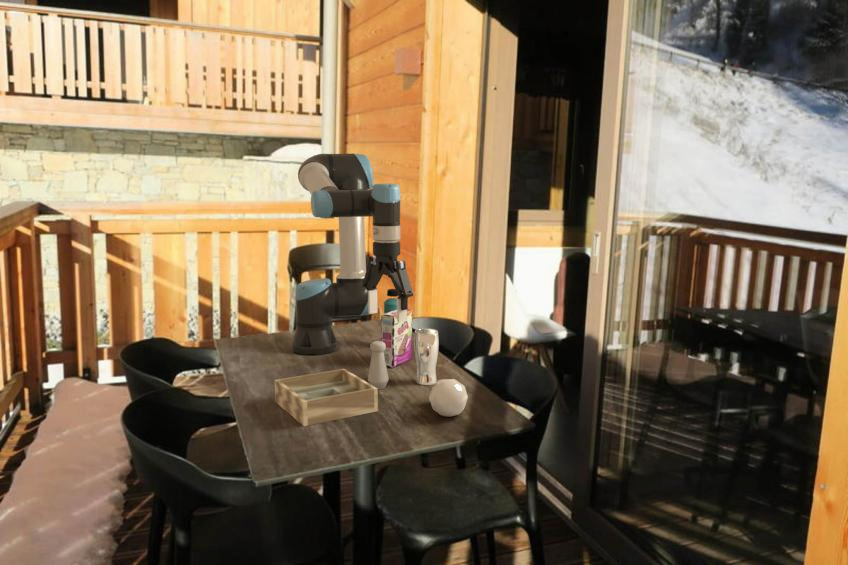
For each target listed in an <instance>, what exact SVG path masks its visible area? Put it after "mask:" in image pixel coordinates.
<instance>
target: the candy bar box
mask: <svg viewBox="0 0 848 565" xmlns="http://www.w3.org/2000/svg"><path fill="white" fill-rule="evenodd" d="M380 316H381V317H380V318H381V319H380V321H381V322H380V325H381V328H380V341H382V342H384V343H385V345H386V349H385V350H384V351H383V352H384V358H385V363H386V368H391V369H394V368H396V367H398V366H400V365H402V364H405V363H406V362H407V363H408V361H411V360H412V355H413V354H412V346H413V343H412V342H413V341H412V340H413V339H412V338H413V335H412V334H413V310H412V309H407V321H404V322H397V310H394V311H391V312H388V313H385V314H384V313H382V314H380Z"/></svg>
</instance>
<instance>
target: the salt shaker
mask: <svg viewBox="0 0 848 565" xmlns="http://www.w3.org/2000/svg"><path fill="white" fill-rule="evenodd" d="M385 349H386V345H385V343H384V342H382V341H381V340H376V341H372V342H371V343H370V345H369V350H370V351H371V357H370V363H369V369H368V376H367V381H368V383H369V384H371V385H373V386H374V387H376V388H378V390H382V389H385V388H386V386H387V384H388V382H389V380H390V379H389V375H388V374H389V373H388V367H386V363H385V358H384V352H383V351H384V350H385Z"/></svg>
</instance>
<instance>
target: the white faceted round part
mask: <svg viewBox="0 0 848 565" xmlns="http://www.w3.org/2000/svg"><path fill="white" fill-rule="evenodd" d="M428 399H429V402H430V405H431V408H432V410H433V411H435V412H436V413H437V414H439V415H440V416H442V417H455V416H457V415H459V414H461V413H462V412H463V411H464V409H465V407H466V406H467V405H466V404H467V402H468V399H469V395H468V392H467V390H466V386H465V385H464V384H462V383H461V382H459V381H458V380H457V379H455V378H448V379H445V378H442V379H437V383H435V384H433V385H432V387H431V391H430V395H429V397H428Z"/></svg>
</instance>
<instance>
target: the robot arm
mask: <svg viewBox="0 0 848 565" xmlns="http://www.w3.org/2000/svg"><path fill="white" fill-rule="evenodd" d="M297 179H298V181H299V184H300V185H301V187H302V188H303V189H304V190H306V191H307V192H309V193H310V195H311V196H310V210H311V214H312V216H313V217H315V218H323V219H329V218H338V234H339V235H338V236H339V237H338V238H339V241H338V242H339V266H340V267H339V268H340V270H339V273H338V274H337V275H336V276H335V279H336V280H335V281H336V282H332V280H331V279H330V278H328V277H327V278H326V277H324V278H313V279H308V280H305V281H304V280H303V281H302V282H300V283H298V284H297V285H296V287H295V293H294V294H295V297H294V300H295V322H296V325H295V326H296V327H295V331H294V334H293V337H292V341H291V351H292V352H293V351H294V352H293V353H295V352H296V353H295V354H298V353H300V354H299V355H303V354H320V355H325V353H326V354H330V352H331V353H333V352H335V351H337V350H336V349H338V340H337V338H336V335H335V333H334V329H333V327H332V326H333V325H332V319H334V318H346V317H361V316H368V315H373V314H378V312H379V311H378V288H377V287H378V285H379V283H380V281H381V279H382V278H383V276H384V275H385V276H386V277H388V279H390V281H391V283H392V285H393V286H394V289H396V291H397V293H398V295H399V296H397V297H396V298H397V322H404V321H407V309H408V308H409V306H408V305H409V302H408V299H409V298H410V297H413V296H414V291H413V288H412V285H411V281H410V279H409V278H410V277H409V274H408V272H407V265H406V261H405V260H398V257H399V256H400V255H401V242H400V240H401V199H402V196H401V189H400V188H401V187H400V186H399V184H397V183H374V173H373V168H372V163H371V161H370V159H369V157H368V156H367V155H365V154H363V153H362V154H361V153H319V154H314V155H313V156H310V157H308V158H306V159H305V160H304V161H303V162H302V163H301V164H300V166H299V168H298V171H297ZM366 217H370V218H371V217H372V239H373V242H372V255H371V256H368V262H367V263H368V264H367V263H366V261H367V260H366V233H365V232H366V227H365V218H366ZM408 310H409V309H408Z"/></svg>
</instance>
